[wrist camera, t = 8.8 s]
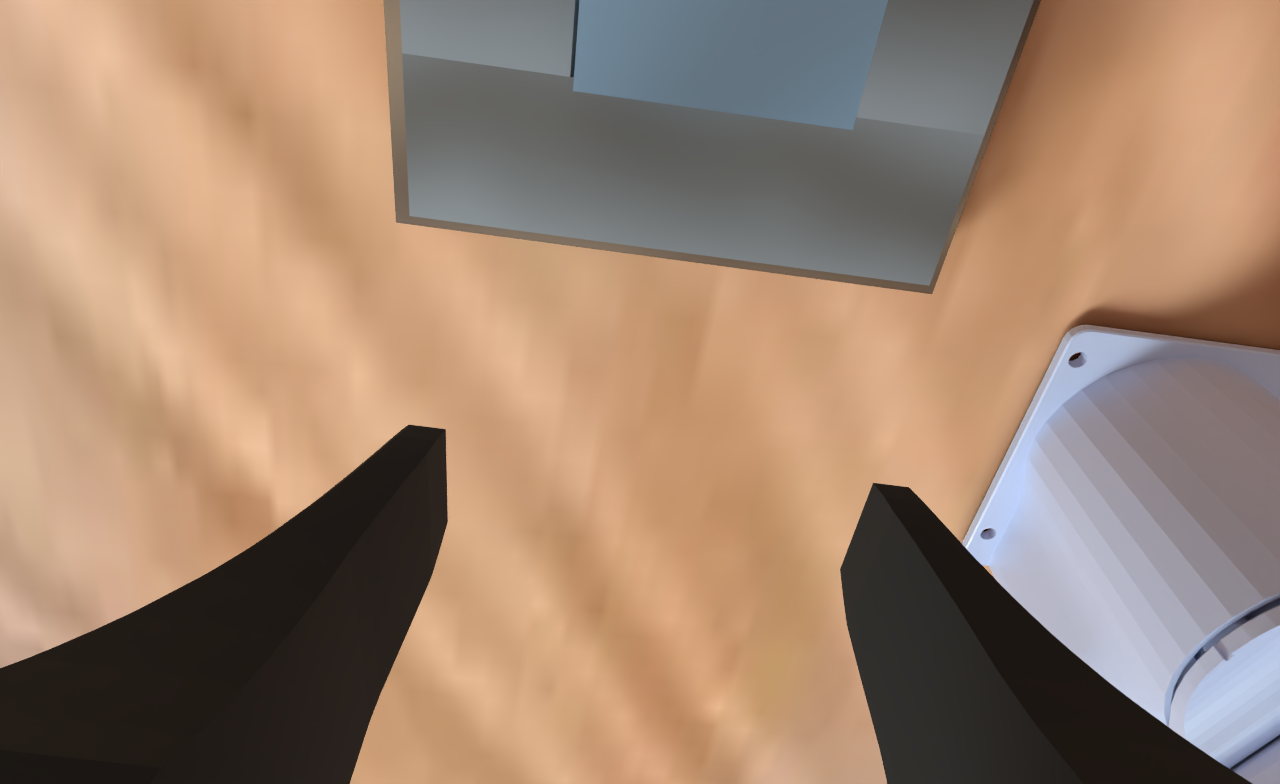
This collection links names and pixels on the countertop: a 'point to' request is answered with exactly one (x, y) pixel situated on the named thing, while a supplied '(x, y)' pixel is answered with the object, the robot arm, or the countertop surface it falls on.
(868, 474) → the countertop surface
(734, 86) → the blue peg
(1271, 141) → the countertop surface
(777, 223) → the socket block
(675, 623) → the countertop surface
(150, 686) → the robot arm
